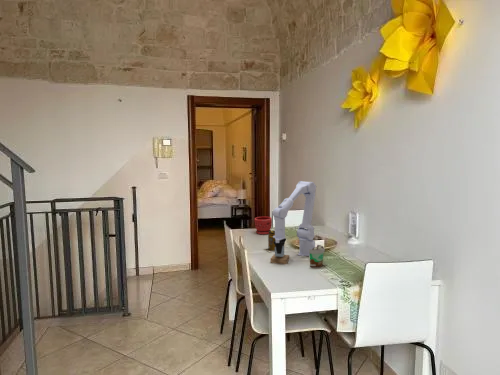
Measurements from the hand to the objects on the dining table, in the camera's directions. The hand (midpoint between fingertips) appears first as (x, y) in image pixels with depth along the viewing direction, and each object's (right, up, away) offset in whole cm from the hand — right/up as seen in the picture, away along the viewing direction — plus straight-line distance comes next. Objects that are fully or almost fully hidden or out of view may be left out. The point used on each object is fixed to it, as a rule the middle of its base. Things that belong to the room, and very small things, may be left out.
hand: (280, 252), depth 208 cm
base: (0, -5, +1) cm, 5 cm away
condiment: (-3, -3, +24) cm, 25 cm away
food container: (+20, -6, -9) cm, 23 cm away
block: (0, -2, 0) cm, 2 cm away
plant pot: (-7, +2, +71) cm, 72 cm away
